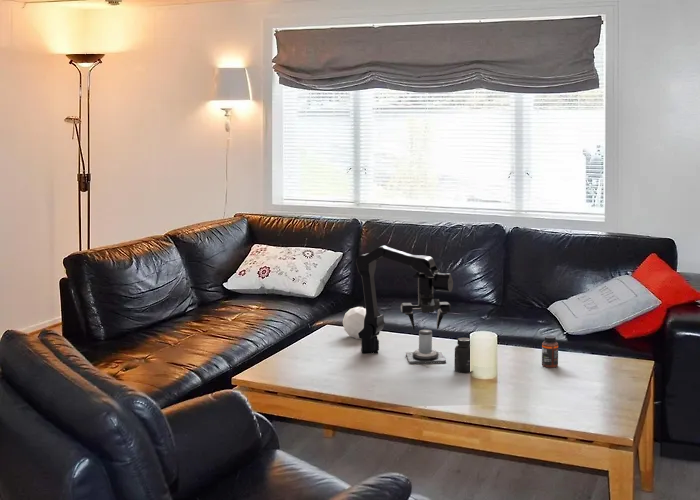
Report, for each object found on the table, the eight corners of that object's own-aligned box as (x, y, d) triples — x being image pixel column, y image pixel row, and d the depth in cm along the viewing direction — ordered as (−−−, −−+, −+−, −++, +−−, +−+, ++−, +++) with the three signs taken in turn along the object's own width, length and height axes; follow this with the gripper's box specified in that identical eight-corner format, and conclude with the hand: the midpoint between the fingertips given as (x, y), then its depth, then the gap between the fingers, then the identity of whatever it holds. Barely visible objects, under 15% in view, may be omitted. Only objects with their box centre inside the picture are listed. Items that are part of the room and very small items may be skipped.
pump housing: (419, 353, 315) (419, 333, 314) (418, 349, 320) (418, 329, 319) (432, 353, 315) (432, 332, 314) (430, 349, 320) (431, 329, 319)
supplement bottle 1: (472, 373, 299) (472, 342, 297) (453, 373, 300) (453, 341, 298) (473, 368, 305) (473, 337, 303) (455, 367, 307) (455, 336, 305)
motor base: (409, 363, 312) (409, 356, 311) (405, 354, 324) (405, 347, 323) (445, 362, 312) (446, 355, 312) (441, 354, 324) (441, 346, 324)
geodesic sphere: (345, 317, 361) (342, 297, 351) (376, 318, 359) (374, 298, 349) (342, 344, 351) (339, 324, 342) (374, 345, 350) (371, 325, 340)
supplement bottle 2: (558, 364, 309) (559, 335, 307) (557, 368, 303) (558, 339, 301) (542, 362, 311) (543, 333, 309) (540, 367, 305) (541, 338, 303)
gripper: (403, 294, 305) (403, 335, 308) (453, 293, 306) (453, 333, 308) (400, 288, 316) (400, 327, 319) (448, 287, 317) (448, 326, 319)
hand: (425, 329), depth 316 cm, fingers open, 9 cm apart
